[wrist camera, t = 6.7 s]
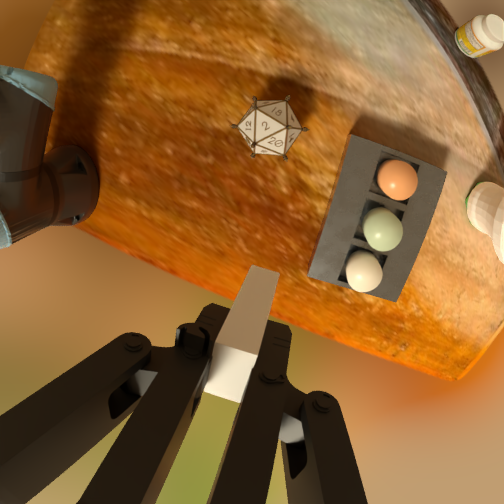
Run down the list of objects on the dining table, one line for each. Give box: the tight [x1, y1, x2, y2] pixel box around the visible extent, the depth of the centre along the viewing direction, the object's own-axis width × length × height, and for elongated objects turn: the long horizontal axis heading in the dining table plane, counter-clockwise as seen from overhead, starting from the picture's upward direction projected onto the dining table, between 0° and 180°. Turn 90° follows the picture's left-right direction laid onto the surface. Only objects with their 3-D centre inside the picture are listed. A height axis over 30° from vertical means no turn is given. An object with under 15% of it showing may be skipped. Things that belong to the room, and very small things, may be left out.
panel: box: [307, 134, 447, 302], centre depth 40 cm, size 14×20×4 cm
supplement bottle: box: [455, 14, 504, 58], centre depth 24 cm, size 5×5×10 cm
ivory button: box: [345, 250, 383, 292], centre depth 40 cm, size 5×5×3 cm
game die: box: [230, 95, 309, 161], centre depth 36 cm, size 9×8×10 cm
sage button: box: [362, 207, 403, 251], centre depth 36 cm, size 5×5×3 cm
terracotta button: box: [376, 159, 418, 200], centre depth 35 cm, size 5×5×3 cm
